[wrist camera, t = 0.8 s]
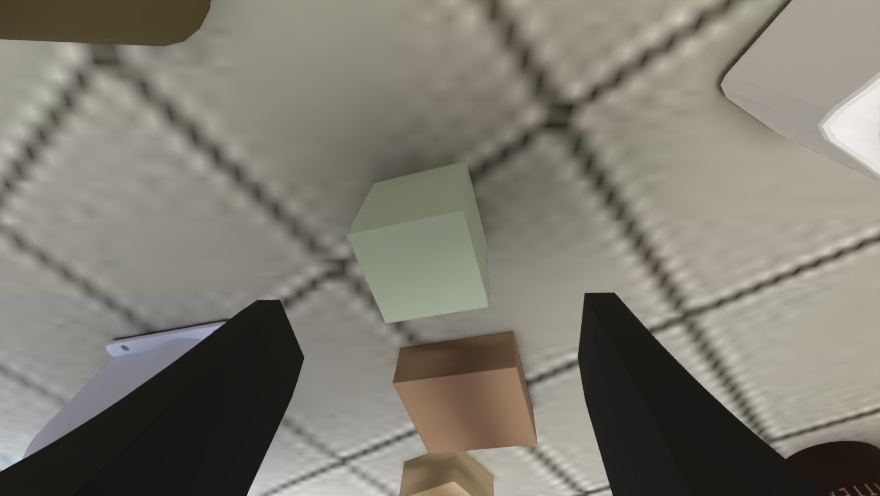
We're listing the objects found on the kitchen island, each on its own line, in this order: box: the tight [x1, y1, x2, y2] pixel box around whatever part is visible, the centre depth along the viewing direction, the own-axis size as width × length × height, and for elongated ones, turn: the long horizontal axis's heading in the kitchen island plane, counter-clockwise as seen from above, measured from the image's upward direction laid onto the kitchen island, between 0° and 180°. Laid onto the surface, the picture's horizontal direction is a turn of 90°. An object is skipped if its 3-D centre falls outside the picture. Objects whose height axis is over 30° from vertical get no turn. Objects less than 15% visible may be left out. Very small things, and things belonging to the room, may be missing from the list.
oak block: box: [399, 451, 494, 496], centre depth 31 cm, size 5×5×3 cm
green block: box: [346, 161, 489, 323], centre depth 18 cm, size 4×4×5 cm
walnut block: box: [393, 331, 537, 454], centre depth 25 cm, size 7×7×3 cm
